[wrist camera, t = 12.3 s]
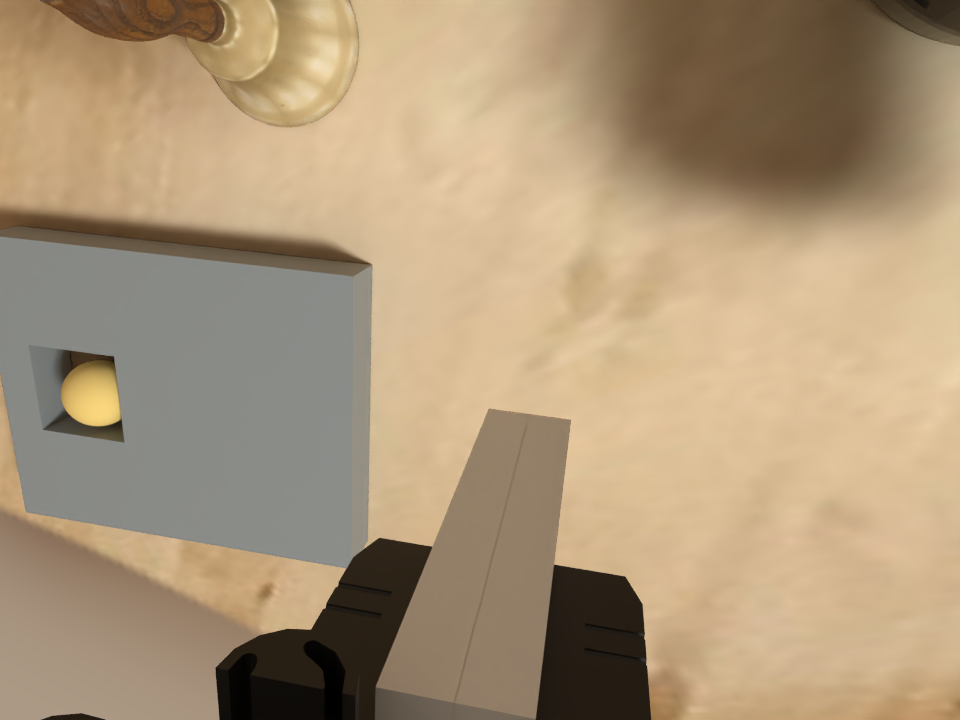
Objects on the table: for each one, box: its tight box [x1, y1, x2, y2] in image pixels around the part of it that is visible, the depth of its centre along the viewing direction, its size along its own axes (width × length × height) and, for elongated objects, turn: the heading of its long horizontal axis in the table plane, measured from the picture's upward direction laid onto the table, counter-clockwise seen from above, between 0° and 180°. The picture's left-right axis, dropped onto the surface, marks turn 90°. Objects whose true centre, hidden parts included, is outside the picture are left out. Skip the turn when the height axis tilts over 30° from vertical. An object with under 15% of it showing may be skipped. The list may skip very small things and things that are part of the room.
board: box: [0, 226, 372, 568], centre depth 41 cm, size 18×22×3 cm
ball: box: [61, 360, 122, 426], centre depth 41 cm, size 4×4×4 cm
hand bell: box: [40, 0, 359, 127], centre depth 27 cm, size 8×8×16 cm
